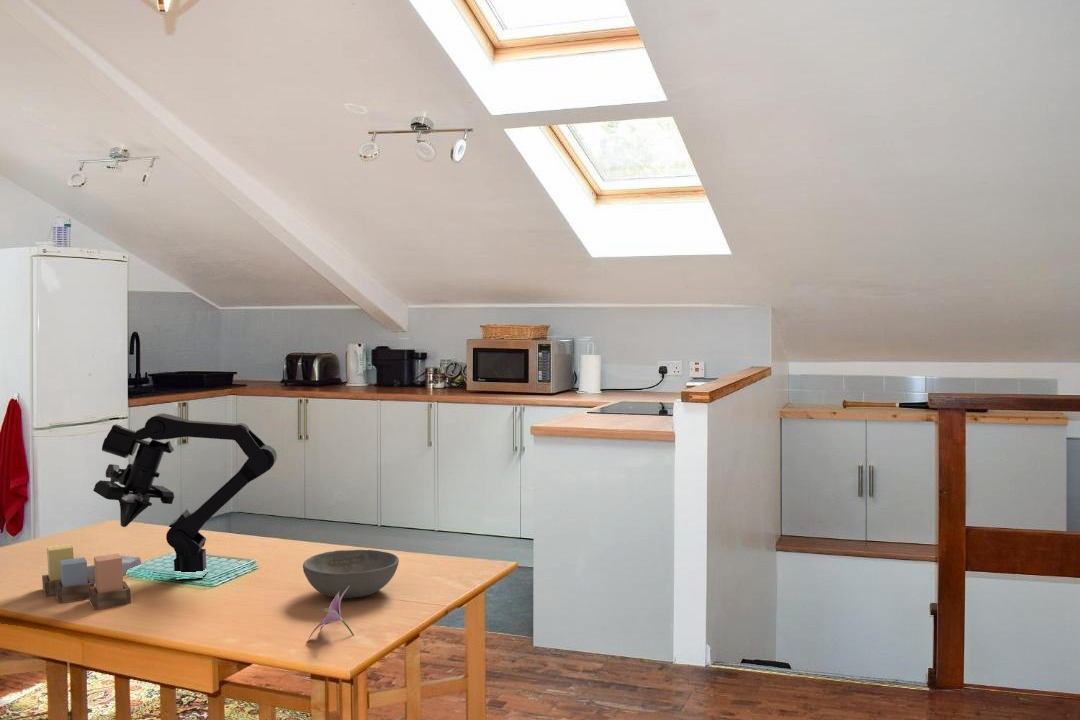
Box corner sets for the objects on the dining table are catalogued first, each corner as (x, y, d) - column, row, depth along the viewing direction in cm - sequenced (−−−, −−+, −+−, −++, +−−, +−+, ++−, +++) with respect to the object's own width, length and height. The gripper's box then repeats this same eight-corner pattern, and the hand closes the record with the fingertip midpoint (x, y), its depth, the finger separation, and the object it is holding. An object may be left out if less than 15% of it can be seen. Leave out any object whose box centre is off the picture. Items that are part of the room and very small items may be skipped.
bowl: (297, 588, 215) (295, 554, 214) (386, 576, 223) (385, 543, 222) (313, 615, 195) (311, 577, 195) (410, 600, 203) (409, 564, 203)
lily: (347, 626, 191) (322, 587, 190) (384, 613, 184) (358, 572, 183) (310, 663, 181) (283, 622, 180) (348, 650, 175) (320, 608, 174)
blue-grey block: (85, 589, 216) (84, 557, 216) (88, 594, 212) (86, 561, 211) (61, 592, 213) (59, 560, 213) (63, 598, 209) (62, 565, 209)
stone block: (80, 588, 226) (116, 581, 224) (75, 568, 226) (112, 561, 224) (111, 575, 237) (145, 569, 235) (107, 557, 237) (141, 550, 236)
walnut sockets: (114, 577, 227) (113, 564, 227) (130, 603, 206) (130, 589, 206) (42, 588, 219) (42, 575, 219) (52, 617, 198) (51, 602, 198)
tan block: (120, 586, 211) (118, 553, 210) (123, 591, 206) (121, 557, 206) (95, 590, 208) (93, 556, 208) (98, 595, 204) (96, 561, 203)
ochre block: (72, 574, 221) (70, 543, 221) (74, 579, 217) (73, 547, 217) (48, 578, 219) (46, 546, 218) (50, 583, 214) (48, 550, 214)
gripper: (158, 457, 235) (136, 515, 235) (92, 449, 219) (68, 512, 219) (185, 472, 229) (163, 532, 229) (119, 465, 213) (95, 529, 213)
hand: (123, 526), depth 223 cm, fingers closed
